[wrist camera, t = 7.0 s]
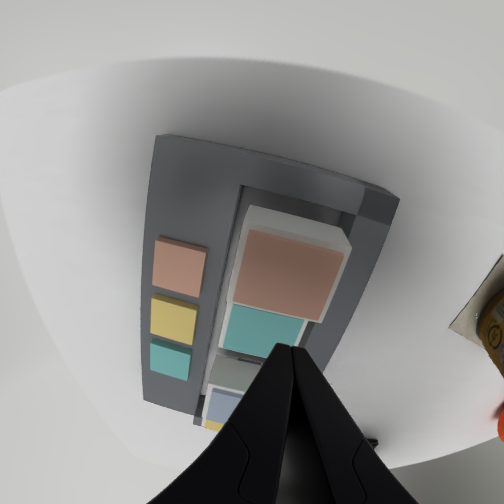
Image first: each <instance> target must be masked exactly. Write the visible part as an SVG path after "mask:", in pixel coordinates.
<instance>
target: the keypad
mask: <svg viewBox="0 0 504 504" xmlns="http://www.w3.org/2000/svg"><path fill="white" fill-rule="evenodd" d="M242 185H245V186H249V187H253V188H257V189H261V190H265V191H269V192H273V193H277V194H281V195H285V196H289V197H293V198H297V199H301V200H304V201H308V202H312V203H315V204H319V205H323V206H326V207H330V208H333V209H337V210H340V211H344V212H343V215H342V218H341V221H340V224H339V228H342V230H343V232H344V234H345V236H346V237H347V239H348V241H349V243H350V245H351V247H352V250H351V253H350V255H349V258H348V260H347V263H346V266H345V268H344V271H343V273H342V276H341V278H340V281H339V283H338V286H337V288H336V291H335V293H334V296H333V298H332V300H331V303H330V305H329V307H328V310H327V312H326V314H325V317H324V319H323V321H322V323H317V322H312V321H308V323H307V325H306V328H305V330H304V332H303V335H302V337H301V340H300V342H299V344H298V347H303V348H305V349H306V350H307V351H308V353H309V354H310V356H311V357H312V359H313V360H314V362H315V363H316V365H317V366H318V368H319V369H320V371H321V372H322V373H323V371H324V370H325V368H326V366H327V364H328V362H329V361H330V359H331V357H332V355H333V353H334V351H335V349H336V347H337V345H338V344H339V342H340V340H341V338H342V336H343V334H344V332H345V330H346V328H347V326H348V324H349V322H350V320H351V318H352V316H353V313H354V311H355V309H356V307H357V305H358V303H359V301H360V299H361V296H362V294H363V292H364V290H365V287H366V285H367V283H368V281H369V278H370V276H371V274H372V271H373V269H374V267H375V264H376V262H377V259H378V257H379V254H380V252H381V249H382V247H383V244H384V242H385V239H386V237H387V234H388V231H389V229H390V226H391V223H392V221H393V218H394V215H395V212H396V209H397V206H398V204H399V201H400V199H399V198H398V197H396V196H395V195H394V194H392V193H391V192H389V191H388V190H386V189H384V188H382V187H379V186H376V185H373V184H370V183H367V182H364V181H361V180H358V179H355V178H351V177H348V176H345V175H342V174H339V173H335V172H332V171H329V170H325V169H322V168H318V167H315V166H311V165H308V164H304V163H300V162H296V161H293V160H289V159H285V158H281V157H277V156H273V155H269V154H265V153H260V152H256V151H252V150H247V149H243V148H238V147H233V146H229V145H224V144H219V143H214V142H208V141H203V140H197V139H192V138H186V137H180V136H174V135H167V134H165V135H156V139H155V145H154V152H153V158H152V165H151V172H150V180H149V188H148V197H147V206H146V216H145V228H144V240H143V256H142V276H141V364H142V384H143V398H144V400H145V401H148V402H151V403H154V404H157V405H160V406H163V407H167V408H170V409H173V410H176V411H180V412H183V413H187V414H190V415H194V420H193V424H194V425H198V426H201V424H202V419H203V417H202V412H203V407H204V402H205V397H206V396H202V395H200V394H201V388H202V383H203V377H204V372H205V367H206V361H207V356H208V350H209V345H210V340H211V335H212V329H213V324H214V319H215V314H216V309H217V304H218V299H219V294H220V289H221V284H222V279H223V274H224V269H225V264H226V260H227V255H228V250H229V245H230V240H231V236H232V231H233V226H234V222H235V217H236V213H237V208H238V203H239V199H240V194H241V190H242ZM202 427H203V426H202Z"/></svg>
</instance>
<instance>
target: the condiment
mask: <svg viewBox="0 0 504 504" xmlns="http://www.w3.org/2000/svg"><path fill="white" fill-rule="evenodd" d="M476 313H477V316H476ZM476 317H478V318H477V319H476ZM449 328H450V329H452V330H454V331H455V332H457V333H459V334H460V335H462V336H464V337H465V338H467V339H469V340H470V341H472V342H474V343H476V344H477V345H479V346H481V347H482V348H484V349H485V350H486V351H487V352H488V354H489V357H490V358H491V359H492V361H493V363H494V364H495V365H496V367H497V368H498V369H499V371H500V373H501V375H502V376H503V378H504V256H503V257H502V258H501V260H500V261H499V263H498V264H497V265H496V266H495V267H494V269H493V270H492V272H491V273H490V274H489V276H488V278H487V279H486V280H485V281H484V282H483V284H482V285H481V287H480V288H479V289H478V291H477V292H476V294H475V295H474V296H473V297H472V298H471V300H470V301H469V303H468V304H467V306H466V307H465V308H464V310H463V311H462V312H461V313H460V314H459V315H458V317H457V318H456V320H455V321H454V322H453V323H452V325H451V326H450V327H449Z"/></svg>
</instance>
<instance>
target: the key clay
mask: <svg viewBox="0 0 504 504" xmlns="http://www.w3.org/2000/svg"><path fill="white" fill-rule="evenodd" d="M351 250H352V247H351V245H350V243H349V241H348V239H347V237H346V236H345V234H344V232H343V230H342V228H339V227H336V226H332V225H329V224H325V223H321V222H318V221H314V220H310V219H306V218H303V217H299V216H295V215H291V214H287V213H283V212H279V211H275V210H271V209H267V208H263V207H259V206H255V205H251V204H250V205H249V208H248V210H247V213H246V215H245V218H244V220H243V225H242V229H241V234H240V238H239V243H238V247H237V252H236V256H235V261H234V265H233V270H232V274H231V279H230V283H229V288H228V292H227V297H226V302H230V303H234V304H238V305H242V306H246V307H250V308H254V309H258V310H263V311H267V312H271V313H276V314H280V315H285V316H289V317H294V318H298V319H303V320H308V321H312V322H317V323H322V321H323V319H324V317H325V314H326V312H327V310H328V307H329V305H330V303H331V300H332V298H333V296H334V293H335V291H336V288H337V286H338V283H339V281H340V278H341V276H342V273H343V271H344V268H345V266H346V263H347V260H348V258H349V255H350V253H351Z"/></svg>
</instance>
